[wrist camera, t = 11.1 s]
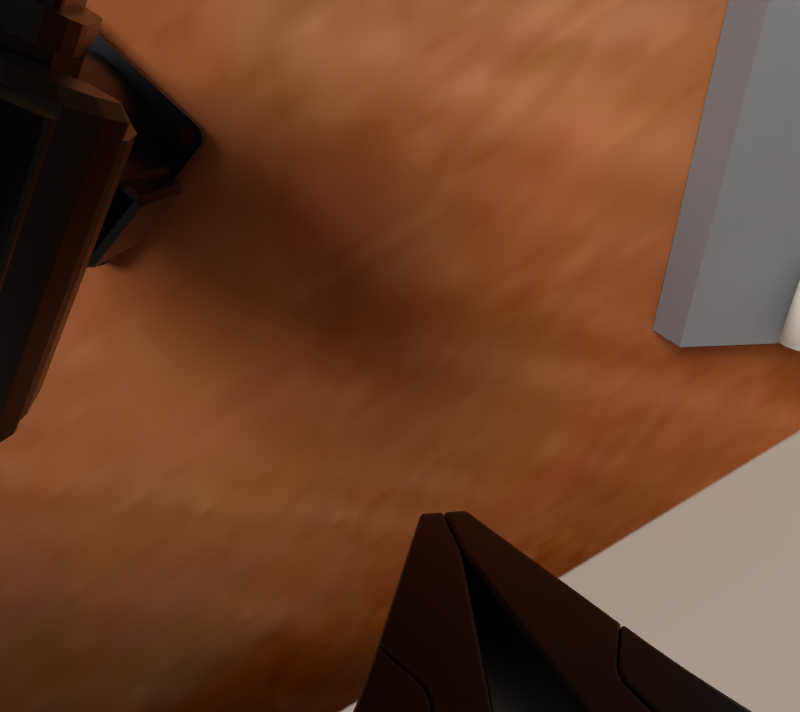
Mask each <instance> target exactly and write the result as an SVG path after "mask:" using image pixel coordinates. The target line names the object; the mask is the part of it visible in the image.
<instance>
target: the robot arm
mask: <svg viewBox="0 0 800 712" xmlns="http://www.w3.org/2000/svg"><path fill="white" fill-rule="evenodd" d="M86 3H87V0H0V442H1V441H3V440H5V439H6V438H8V437H9V436H11V435H12V434H14V432H15V431H16V429H17V427H18V424H19V421H20V420H21V419H22V418H23V417H24V416H25V415H26V414H27V413H28V411H29V409H30V407H31V406H32V404H33V402H34V400H35V398H36V397H37V395H38V393H39V391H40V390H41V387H42V384H43V382H44V379H45V376H46V374H47V371H48V369H49V366H50V363H51V361H52V358H53V355H54V353H55V350H56V347H57V345H58V342H59V339H60V337H61V334H62V331H63V329H64V326H65V324H66V321H67V318H68V316H69V313H70V310H71V308H72V305H73V302H74V300H75V297H76V294H77V292H78V289H79V287H80V284H81V281H82V279H83V276H84V273H85V271H86V268H87V267H96V266H100V265H104V264H106V263H108V262H109V261H110V260H112V259H113V257H114V256H116V255H118V254H119V253H121V252H123V251H125V250H127V249H129V248H130V247H132V246H134V245H136V244H138V243H140V242H141V241H142V240H143V239H144V238H145V237H146V235H147V234H148V233H149V232H150V231H151V229H152V228H153V227H154V226H155V224H156V223H157V222H158V221H159V219H160V218H161V217H162V216H163V215H164V213H165V212H166V211H167V210H168V208H169V207H170V206H171V205H172V203H173V202H174V201H175V200H176V199H177V197H178V196H179V195H180V194H181V185H180V183H179V182H178V181H176V179H177V178H178V177H179V175H180V174H181V173H182V172H183V170H184V169H185V168H186V167H187V165H188V164H189V163H190V162H191V160H192V159H193V158H194V157H195V156H196V154H197V153H198V152H199V151H200V149H201V148H202V147H203V145H204V143H205V134H204V131H203V129H202V128H201V126H200V125H199V124H198V123H197V122H196V121H195V120H194V119H193V118H191V117H190V116H189V115H188V114H187V113H186V112H185V111H184V110H183V109H182V108H181V107H180V106H179V105H177V104H176V103H175V102H174V101H173V100H172V99H171V98H170V97H169V96H168V95H167V94H166V93H164V92H163V91H162V90H161V89H160V88H159V87H158V86H157V85H156V84H155V83H154V82H153V81H152V80H150V79H149V78H148V77H147V76H146V75H145V74H144V73H143V72H142V71H141V70H140V69H139V68H137V67H136V66H135V65H134V64H133V63H132V62H131V61H130V60H129V59H128V58H127V57H126V56H125V55H123V54H122V53H121V52H120V51H119V50H118V49H117V48H116V47H115V46H114V45H113V44H112V43H110V42H109V41H108V40H107V39H106V38H105V37H104V36H103V35H102V34H101V33H100V32H99V28H100V25H101V22H102V18H101V17H99V16H98V15H96V14H95V13H93V12H91V11H90V10H88V9H87V8H85V6H86ZM186 128H189V129H191V130H192V131H193V133H194V135H195V139H194V142H192V143H191V144H189V143H187V142H186V141H185V140H184V138H183V134H182V133H183V131H184V130H185V129H186ZM353 712H751V711H750V710H748V709H747V708H745V707H743V706H742V705H740V704H739V703H737V702H735V701H734V700H732V699H731V698H729V697H728V696H726V695H724V694H723V693H721V692H720V691H718V690H717V689H715V688H714V687H712V686H710V685H709V684H707V683H706V682H704V681H703V680H701V679H700V678H698V677H697V676H695V675H693V674H692V673H690V672H689V671H687V670H686V669H684V668H683V667H681V666H680V665H679V664H677V663H676V662H674V661H673V660H671V659H670V658H668V657H667V656H666V655H664V654H663V653H661V652H660V651H658V650H657V649H656V648H654V647H653V646H651V645H650V644H648V643H647V642H646V641H644V640H643V639H641V638H640V637H639V636H637V635H636V634H635V633H633V632H632V631H631V630H629V629H628V628H627V627H624V626H623V627H621V629H620V624H619V623H618V622H617V621H615V620H614V619H613V618H611V617H610V616H609V615H607V614H606V613H605V612H603V611H602V610H600V609H599V608H598V607H596V606H595V605H593V604H592V603H591V602H589V601H588V600H587V599H585V598H584V597H583V596H581V595H580V594H579V593H577V592H576V591H574V590H573V589H572V588H570V587H569V586H568V585H566V584H565V583H563V582H562V581H561V580H559V579H558V578H557V577H555V576H554V575H553V574H551V573H550V572H548V571H547V570H546V569H544V568H543V567H542V566H540V565H539V564H538V563H536V562H535V561H533V560H532V559H531V558H529V557H528V556H527V555H525V554H524V553H522V552H521V551H520V550H518V549H517V548H516V547H514V546H513V545H512V544H510V543H509V542H507V541H506V540H505V539H503V538H502V537H501V536H499V535H498V534H497V533H495V532H494V531H492V530H491V529H490V528H488V527H487V526H486V525H484V524H483V523H481V522H480V521H479V520H477V519H476V518H475V517H473V516H472V515H471V514H469V513H467V512H465V511H458V512H447V513H445V514H444V515H443V514H442V513H429V514H422V515H421V516H420V518H419V521H418V524H417V527H416V530H415V533H414V536H413V539H412V542H411V546H410V549H409V552H408V555H407V558H406V561H405V564H404V567H403V570H402V573H401V576H400V579H399V582H398V585H397V588H396V591H395V594H394V597H393V600H392V604H391V607H390V610H389V613H388V616H387V619H386V622H385V625H384V628H383V631H382V634H381V637H380V640H379V643H378V646H377V650H376V651H375V654H374V657H373V660H372V663H371V666H370V669H369V672H368V675H367V677H366V680H365V683H364V685H363V688H362V691H361V693H360V696H359V699H358V701H357V704H356V707H355V709H354V711H353Z"/></svg>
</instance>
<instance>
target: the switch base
mask: <svg viewBox="0 0 800 712" xmlns="http://www.w3.org/2000/svg"><path fill="white" fill-rule="evenodd" d="M799 280H800V0H728V4H727V9H726V13H725V17H724V22H723V26H722V30H721V35H720V39H719V43H718V48H717V52H716V57H715V61H714V65H713V70H712V74H711V78H710V83H709V87H708V91H707V96H706V100H705V104H704V109H703V113H702V117H701V122H700V126H699V130H698V135H697V139H696V143H695V148H694V152H693V156H692V161H691V165H690V169H689V174H688V178H687V183H686V187H685V191H684V196H683V200H682V204H681V209H680V213H679V217H678V222H677V226H676V230H675V235H674V239H673V243H672V248H671V252H670V256H669V261H668V265H667V269H666V274H665V278H664V282H663V287H662V291H661V295H660V300H659V304H658V308H657V313H656V317H655V322H654V326H653V330H654V331H655V332H657V333H658V334H660V335H661V336H663V337H665V338H666V339H668V340H669V341H671V342H672V343H674V344H675V345H677V346H679V347H698V346H723V345H747V344H772V343H780V342H779V338H780V335H781V332H782V329H783V326H784V323H785V320H786V318H787V315H788V312H789V309H790V306H791V303H792V300H793V297H794V294H795V292H796V289H797V286H798V283H799Z"/></svg>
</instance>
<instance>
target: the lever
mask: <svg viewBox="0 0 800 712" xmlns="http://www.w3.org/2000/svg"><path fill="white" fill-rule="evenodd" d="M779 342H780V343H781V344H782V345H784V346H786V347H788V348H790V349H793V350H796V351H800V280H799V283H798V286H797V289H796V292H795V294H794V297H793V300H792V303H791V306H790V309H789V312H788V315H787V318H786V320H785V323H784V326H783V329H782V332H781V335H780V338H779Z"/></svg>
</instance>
